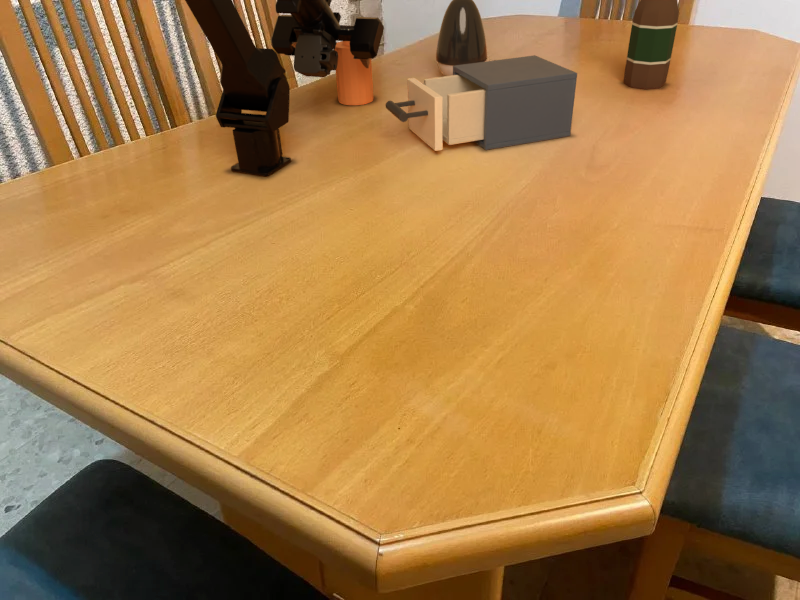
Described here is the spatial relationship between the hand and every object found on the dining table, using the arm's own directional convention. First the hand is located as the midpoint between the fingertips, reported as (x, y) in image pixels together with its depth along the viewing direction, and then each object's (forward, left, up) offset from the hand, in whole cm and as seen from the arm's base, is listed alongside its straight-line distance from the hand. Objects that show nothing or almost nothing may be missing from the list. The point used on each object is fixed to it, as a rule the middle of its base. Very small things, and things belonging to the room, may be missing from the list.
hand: (344, 64), depth 113 cm
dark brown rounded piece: (+25, -13, -7) cm, 29 cm away
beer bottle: (+31, -48, -7) cm, 57 cm away
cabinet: (-3, -32, -7) cm, 33 cm away
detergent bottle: (+4, 0, -7) cm, 8 cm away
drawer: (-11, -24, -6) cm, 27 cm away
